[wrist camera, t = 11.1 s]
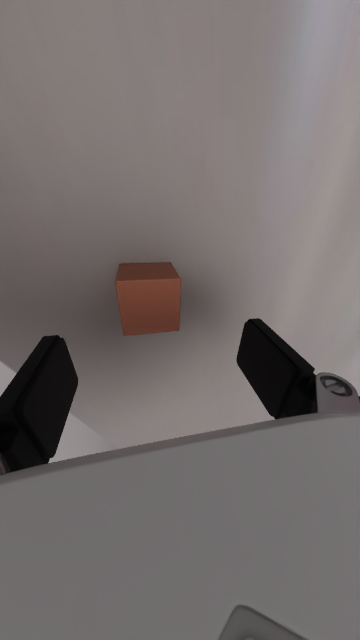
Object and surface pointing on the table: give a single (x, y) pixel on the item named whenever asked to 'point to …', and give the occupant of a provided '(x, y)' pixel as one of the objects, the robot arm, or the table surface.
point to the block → (148, 298)
